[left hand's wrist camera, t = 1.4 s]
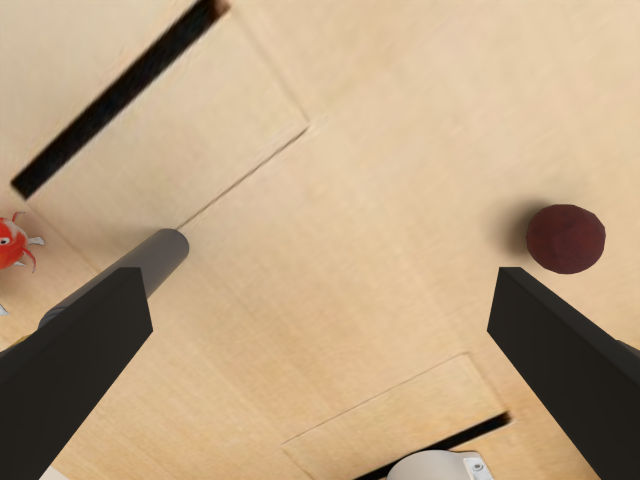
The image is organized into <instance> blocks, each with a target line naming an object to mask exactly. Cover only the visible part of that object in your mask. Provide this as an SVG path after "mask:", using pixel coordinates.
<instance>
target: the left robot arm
mask: <svg viewBox="0 0 640 480" xmlns="http://www.w3.org/2000/svg"><path fill="white" fill-rule="evenodd" d="M152 332H153V327H152V322H151V317H150V312H149V307H148V302H147V297H146V292H145V287H144V282H143V277H142V272H141V267H119V268H118V269H116V270H115V271H114V272H113V273H111V274H110V275H109V276H107V277H106V278H105V279H103V280H102V281H101V282H99V283H98V284H97V285H95V286H94V287H93V288H92V289H90V290H89V291H88V292H86V293H85V294H84V295H82V296H81V297H80V298H78V299H77V300H76V301H75V302H73V303H72V304H71V305H69V306H68V307H67V308H65V309H64V310H63V311H61V312H60V313H59V314H57V315H56V316H55V317H54V318H52V319H51V320H50V321H48V322H47V323H46V324H44V325H43V326H42V327H40V328H39V329H38V330H37V331H35V332H34V333H33V334H31V335H30V336H29V337H27V338H26V339H25V340H23V341H21V342H19V343H17V344H15V345H13V346H11V347H9V348H8V349H6V350H4V351H2V352H0V480H39V479H40V477H41V476H42V475H43V473H44V472H45V471H46V470H47V468H48V467H49V466H50V464H51V463H52V462H53V461H54V459H55V458H56V457H57V455H58V454H59V453H60V451H61V450H62V449H63V448H64V446H65V445H66V444H67V442H68V441H69V440H70V438H71V437H72V436H73V435H74V433H75V432H76V431H77V429H78V428H79V427H80V425H81V424H82V423H83V422H84V420H85V419H86V418H87V416H88V415H89V414H90V412H91V411H92V410H93V409H94V407H95V406H96V405H97V403H98V402H99V401H100V399H101V398H102V397H103V396H104V394H105V393H106V392H107V390H108V389H109V388H110V386H111V385H112V384H113V383H114V381H115V380H116V379H117V377H118V376H119V375H120V373H121V372H122V371H123V370H124V368H125V367H126V366H127V364H128V363H129V362H130V360H131V359H132V358H133V357H134V355H135V354H136V353H137V351H138V350H139V349H140V347H141V346H142V345H143V344H144V342H145V341H146V340H147V338H148V337H149V336H150V334H151V333H152ZM487 332H488V333H489V334H490V336H491V337H492V338H493V340H494V341H495V342H496V344H497V345H498V346H499V347H500V349H501V350H502V351H503V353H504V354H505V355H506V357H507V358H508V359H509V360H510V362H511V363H512V364H513V366H514V367H515V368H516V370H517V371H518V372H519V373H520V375H521V376H522V377H523V379H524V380H525V381H526V383H527V384H528V385H529V386H530V388H531V389H532V390H533V392H534V393H535V394H536V396H537V397H538V398H539V399H540V401H541V402H542V403H543V405H544V406H545V407H546V409H547V410H548V411H549V412H550V414H551V415H552V416H553V418H554V419H555V420H556V422H557V423H558V424H559V425H560V427H561V428H562V429H563V431H564V432H565V433H566V435H567V436H568V437H569V438H570V440H571V441H572V442H573V444H574V445H575V446H576V448H577V449H578V450H579V451H580V453H581V454H582V455H583V457H584V458H585V459H586V461H587V462H588V463H589V464H590V466H591V467H592V468H593V470H594V471H595V472H596V474H597V475H598V476H599V477H600V479H601V480H640V351H639V350H637V349H635V348H633V347H631V346H630V345H628V344H626V343H624V342H622V341H620V340H615V339H614V338H613V337H611V336H610V335H609V334H607V333H606V332H605V331H603V330H602V329H601V328H600V327H598V326H597V325H596V324H594V323H593V322H592V321H590V320H589V319H588V318H586V317H585V316H584V315H583V314H581V313H580V312H579V311H577V310H576V309H575V308H573V307H572V306H571V305H569V304H568V303H567V302H565V301H564V300H563V299H562V298H560V297H559V296H558V295H556V294H555V293H554V292H552V291H551V290H550V289H548V288H547V287H546V286H545V285H543V284H542V283H541V282H539V281H538V280H537V279H535V278H534V277H533V276H531V275H530V274H529V273H527V272H526V271H525V270H524V269H522V268H521V267H499V272H498V277H497V282H496V287H495V292H494V297H493V302H492V307H491V312H490V317H489V322H488V327H487Z"/></svg>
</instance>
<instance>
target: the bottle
mask: <svg viewBox="0 0 640 480" xmlns="http://www.w3.org/2000/svg"><path fill="white" fill-rule="evenodd" d="M188 253H189V244H188V242H187V240H186V238H185V237H184V236H183V235H182V234H181V233H180V232H178V231H176V230H173V229H162V230H160V231H158V232H157V233H155V234H154V235H152V236H151V237H150V238H148V239H147V240H146V241H144V242H143V243H141V244H140V245H139V246H137V247H136V248H134V249H133V250H132V251H130V252H129V253H128V254H126V255H125V256H123V257H122V258H121V259H119V260H118V261H117V262H115V263H114V264H112V265H111V266H110V267H108V268H107V269H105V270H104V271H103V272H101V273H100V274H99V275H97V276H96V277H94V278H93V279H92V280H90V281H89V282H88V283H86V284H85V285H83V286H82V287H81V288H79V289H78V290H76V291H75V292H74V293H72V294H71V295H70V296H68V297H67V298H65V299H64V300H63V301H61V302H60V303H59V304H57V305H56V306H54V307H53V308H52V309H50V310H49V311H48V312H47V313H46V314H45V315H44V317H43V318H42V319H41V321H40V323H39V326H38V329H39V328H40V327H42V326H43V325H44V324H46V323H47V322H48V321H50V320H51V319H52V318H54V317H55V316H56V315H57V314H59V313H60V312H61V311H63V310H64V309H65V308H67V307H68V306H69V305H71V304H72V303H73V302H75V301H76V300H77V299H78V298H80V297H81V296H82V295H84V294H85V293H86V292H88V291H89V290H90V289H92V288H93V287H94V286H95V285H97V284H98V283H99V282H101V281H102V280H103V279H105V278H106V277H107V276H109V275H110V274H111V273H113V272H114V271H115V270H116V269H118V268H119V267H141V272H142V277H143V282H144V287H145V292H146V297H147V299H148V298H149V297H150V296H151V295H152V293H153V292H154V291H155V290H156V289H157V288H158V287H159V286H160V285H161V284H162V283H163V282H164V281H165V280H166V278H167V277H168V276H169V275H170V274H171V273H172V272H173V271H174V270H175V269H176V268H177V267H178V266H179V265H180V263H181V262H182V261H183V260H184V259H185V258H186V257H187V255H188ZM38 329H37V330H38Z"/></svg>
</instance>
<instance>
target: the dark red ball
mask: <svg viewBox="0 0 640 480" xmlns="http://www.w3.org/2000/svg"><path fill="white" fill-rule="evenodd" d="M605 237H606V234H605V227H604V226H603V224H602V223H601V222H600V220H599V219H598V218H597V217H596V215H595V214H593V213H591V212H589V211H587V210H585V209H582V208H580V207H577V206H575V205H567V204H562V205H552V206H549V207H546V208H544V209H542V210H541V211H539V212H538V213H537V214H536V215H535V216H534V217H533V219H532V221H531V222H530V225H529V228H528V232H527V236H526V240H527V248H528V251H529V252H530V254H531V256H532V257H533V259H534V260H535V261H536V262H537V263H539V264H540V265H541V266H542V267H543V268H545V269H548V270H550V271H553V272H556V273H558V274H574V273H578V272H581V271H584V270H586V269H588V268H589V267H591V266H592V265H594V264H595V263H596V262H597V261H598V259H599V258H600V257H601V255H602V253H603V250H604V244H605Z"/></svg>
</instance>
